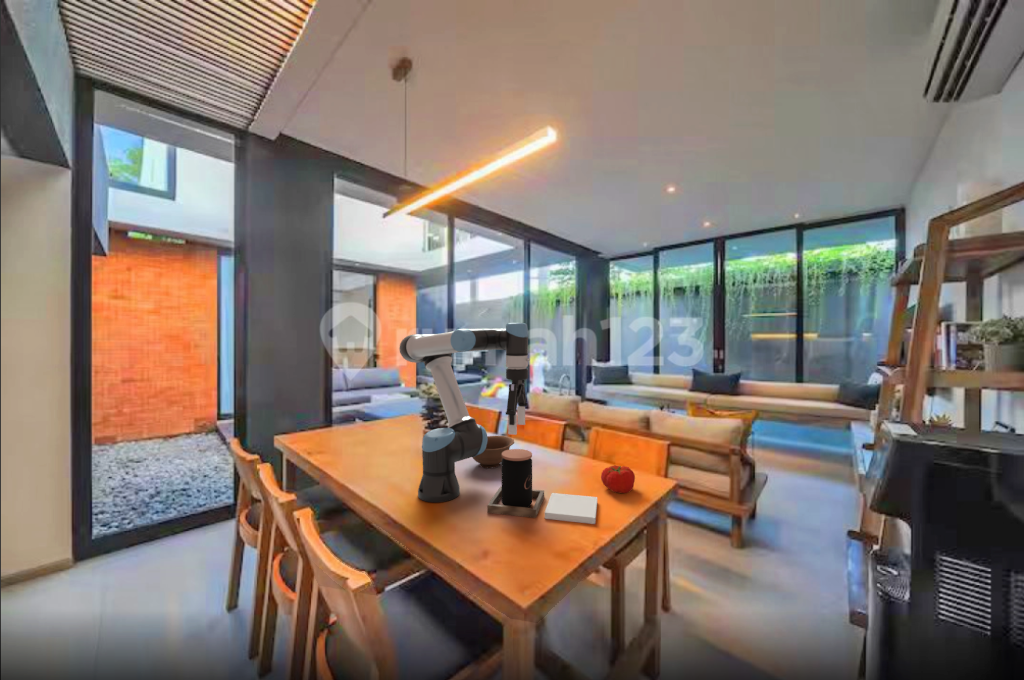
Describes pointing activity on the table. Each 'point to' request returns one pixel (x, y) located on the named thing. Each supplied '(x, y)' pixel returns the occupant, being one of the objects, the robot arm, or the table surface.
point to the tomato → (618, 478)
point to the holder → (512, 509)
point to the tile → (572, 508)
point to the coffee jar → (517, 478)
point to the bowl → (494, 451)
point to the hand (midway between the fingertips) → (517, 429)
